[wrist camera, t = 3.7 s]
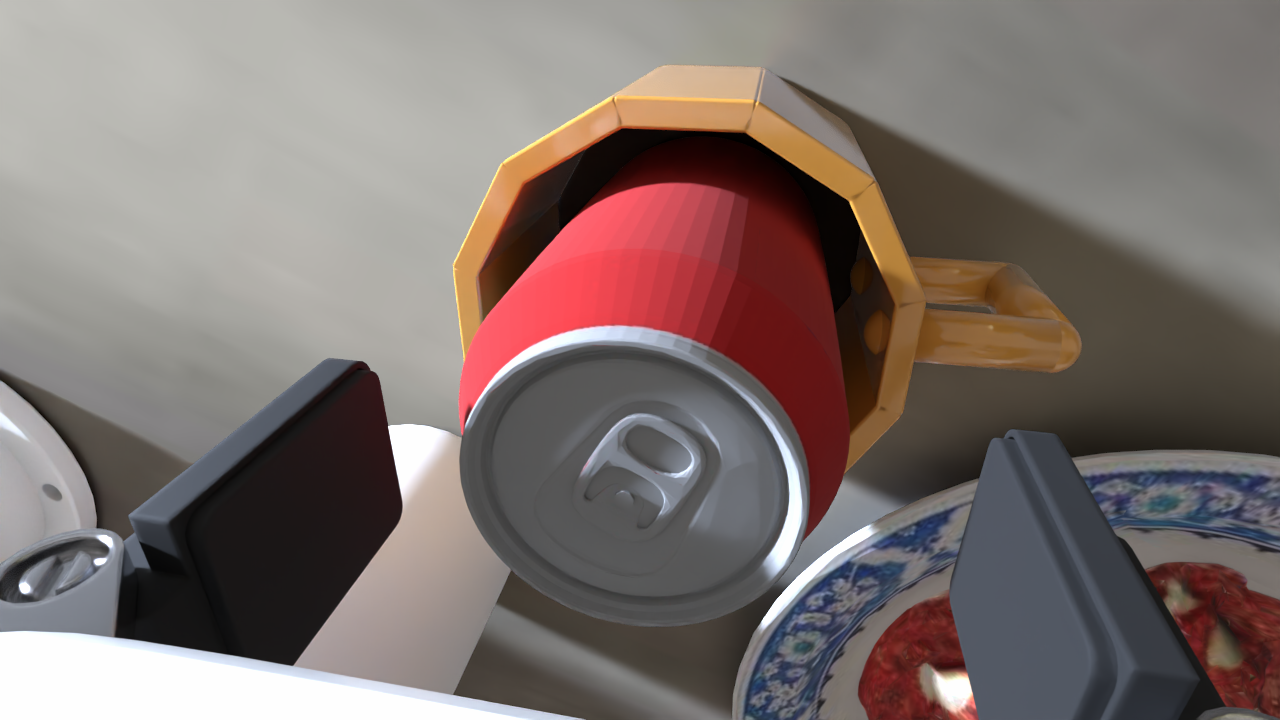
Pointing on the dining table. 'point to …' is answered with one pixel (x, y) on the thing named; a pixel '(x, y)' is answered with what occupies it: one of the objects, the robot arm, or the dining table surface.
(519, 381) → the beverage can
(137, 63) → the dining table surface
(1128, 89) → the dining table surface
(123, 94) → the dining table surface
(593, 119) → the mug
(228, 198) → the dining table surface
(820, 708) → the ceramic plate
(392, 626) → the milk bottle
